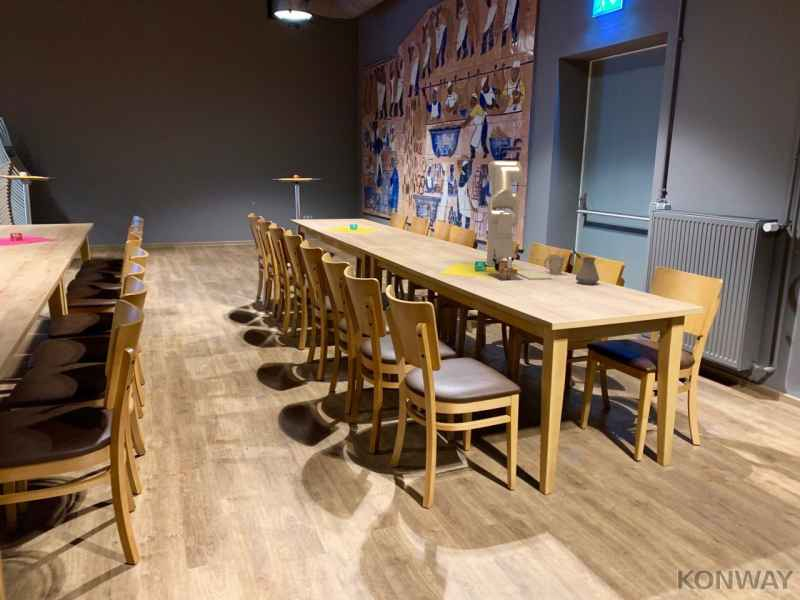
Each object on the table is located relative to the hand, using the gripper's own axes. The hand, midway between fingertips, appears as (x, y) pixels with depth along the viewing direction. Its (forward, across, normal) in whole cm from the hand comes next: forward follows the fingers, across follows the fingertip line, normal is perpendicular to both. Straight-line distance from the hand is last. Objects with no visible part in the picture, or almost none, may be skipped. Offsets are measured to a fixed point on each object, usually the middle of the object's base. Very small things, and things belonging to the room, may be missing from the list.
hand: (502, 270), depth 325 cm
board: (+4, -15, +5) cm, 16 cm away
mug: (+4, -33, -7) cm, 34 cm away
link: (0, 0, +5) cm, 5 cm away
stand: (+4, 0, +5) cm, 6 cm away
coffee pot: (+4, -37, +17) cm, 41 cm away
